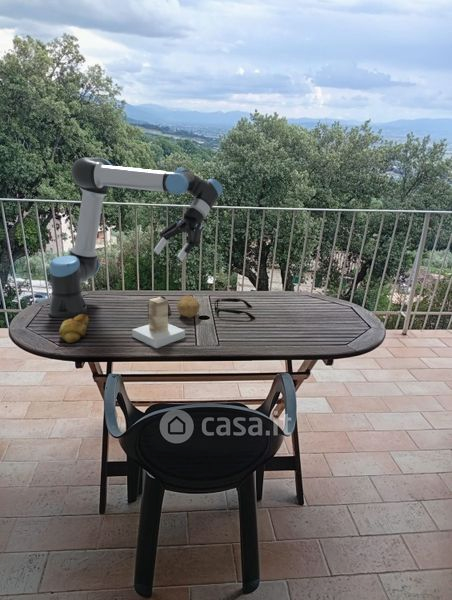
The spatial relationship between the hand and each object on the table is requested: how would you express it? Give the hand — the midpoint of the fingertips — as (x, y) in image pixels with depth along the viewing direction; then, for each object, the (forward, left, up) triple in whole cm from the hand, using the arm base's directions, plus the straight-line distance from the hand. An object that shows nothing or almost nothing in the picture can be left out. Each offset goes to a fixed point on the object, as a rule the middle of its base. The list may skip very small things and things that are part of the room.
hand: (167, 255), depth 161 cm
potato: (-4, +15, -30) cm, 34 cm away
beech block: (+5, -9, -27) cm, 28 cm away
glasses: (+6, +34, -30) cm, 46 cm away
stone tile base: (+5, -9, -30) cm, 31 cm away
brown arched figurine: (-16, +10, -30) cm, 35 cm away
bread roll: (-16, -32, -30) cm, 47 cm away
